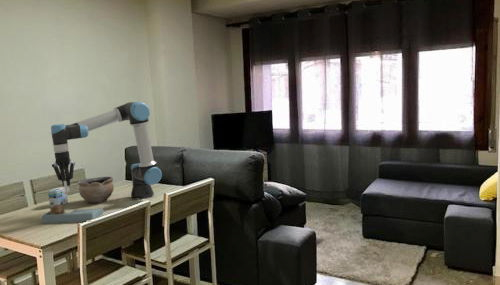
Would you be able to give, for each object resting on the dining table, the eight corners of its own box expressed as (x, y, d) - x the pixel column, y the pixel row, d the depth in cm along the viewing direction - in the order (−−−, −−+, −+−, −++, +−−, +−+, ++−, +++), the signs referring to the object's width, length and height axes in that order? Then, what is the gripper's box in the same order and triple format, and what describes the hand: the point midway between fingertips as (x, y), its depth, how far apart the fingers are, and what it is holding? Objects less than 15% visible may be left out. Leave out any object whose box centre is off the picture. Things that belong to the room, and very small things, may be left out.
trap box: (104, 212, 250) (103, 205, 249) (92, 221, 234) (91, 213, 234) (56, 214, 252) (56, 207, 251) (42, 223, 236) (41, 215, 235)
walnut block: (64, 213, 243) (63, 204, 243) (59, 215, 238) (58, 207, 238) (55, 213, 244) (54, 205, 243) (51, 216, 239) (50, 207, 238)
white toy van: (58, 207, 270) (56, 190, 269) (49, 207, 272) (47, 191, 270) (68, 202, 281) (67, 187, 279) (59, 202, 282) (58, 187, 281)
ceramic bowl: (81, 207, 265) (79, 184, 263) (78, 200, 284) (76, 179, 282) (117, 201, 275) (115, 179, 273) (112, 195, 294) (110, 174, 292)
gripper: (75, 149, 241) (81, 189, 244) (53, 151, 242) (59, 190, 245) (69, 151, 233) (75, 192, 237) (47, 153, 234) (53, 194, 238)
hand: (67, 191), depth 241 cm, fingers closed
